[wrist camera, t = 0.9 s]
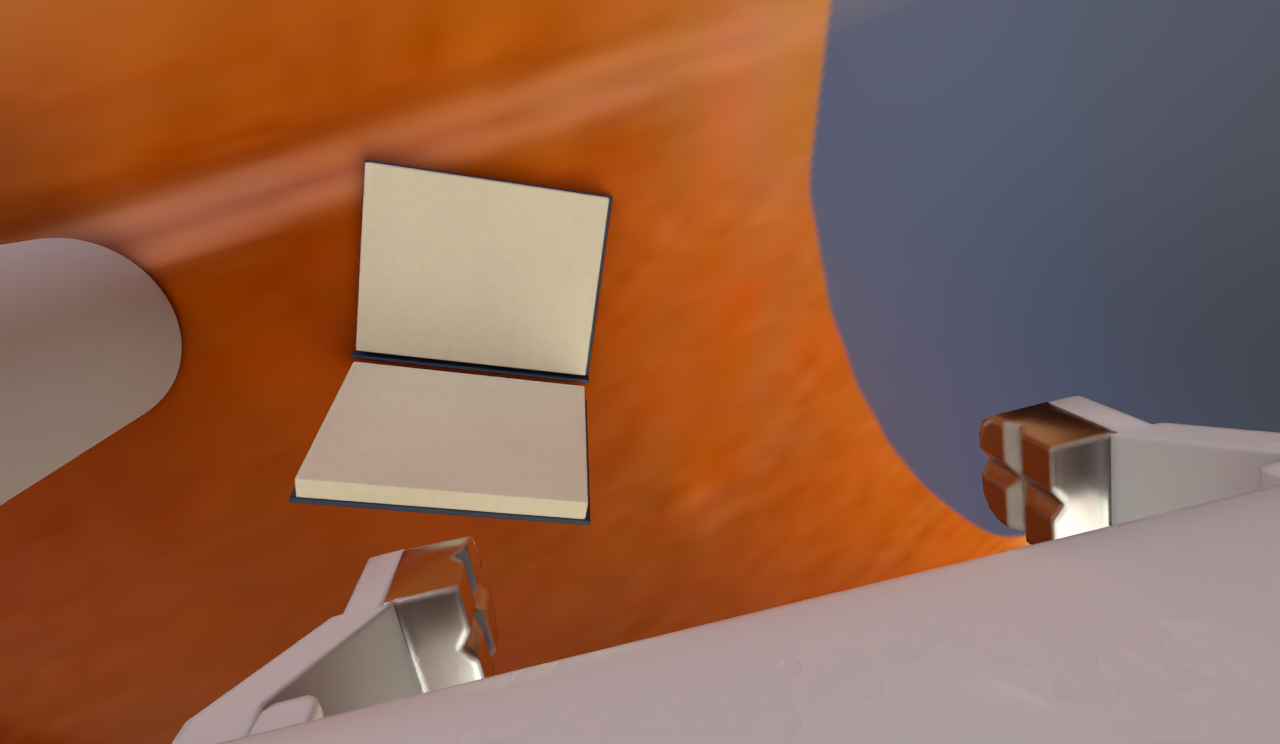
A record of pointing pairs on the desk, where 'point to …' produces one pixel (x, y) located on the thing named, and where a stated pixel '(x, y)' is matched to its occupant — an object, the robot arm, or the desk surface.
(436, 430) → the book cover
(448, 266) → the book
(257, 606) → the desk surface
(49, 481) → the desk surface
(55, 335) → the cylinder vase
